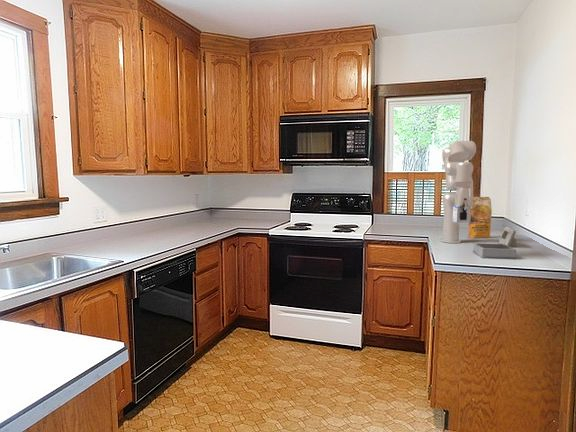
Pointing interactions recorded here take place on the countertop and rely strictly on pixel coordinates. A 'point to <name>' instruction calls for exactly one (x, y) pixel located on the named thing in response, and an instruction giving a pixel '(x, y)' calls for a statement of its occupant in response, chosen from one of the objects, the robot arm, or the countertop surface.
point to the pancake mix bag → (480, 218)
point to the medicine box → (457, 214)
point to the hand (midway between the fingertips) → (461, 218)
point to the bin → (494, 251)
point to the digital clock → (508, 237)
